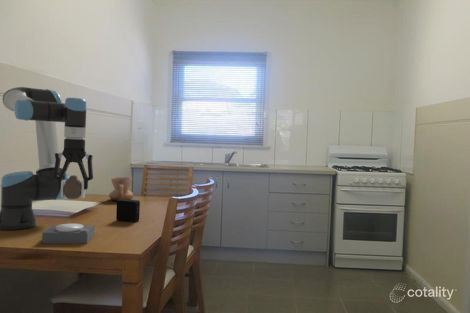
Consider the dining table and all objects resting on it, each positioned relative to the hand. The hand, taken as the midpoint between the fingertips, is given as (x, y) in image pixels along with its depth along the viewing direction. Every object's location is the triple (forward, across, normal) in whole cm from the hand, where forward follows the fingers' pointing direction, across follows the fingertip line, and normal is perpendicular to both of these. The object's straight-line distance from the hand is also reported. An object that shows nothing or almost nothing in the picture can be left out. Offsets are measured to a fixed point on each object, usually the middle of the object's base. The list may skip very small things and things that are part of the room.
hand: (72, 197), depth 148 cm
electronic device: (+17, +18, +32) cm, 41 cm away
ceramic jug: (+18, +8, +88) cm, 90 cm away
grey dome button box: (+16, -1, -1) cm, 16 cm away
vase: (+1, 0, 0) cm, 1 cm away
